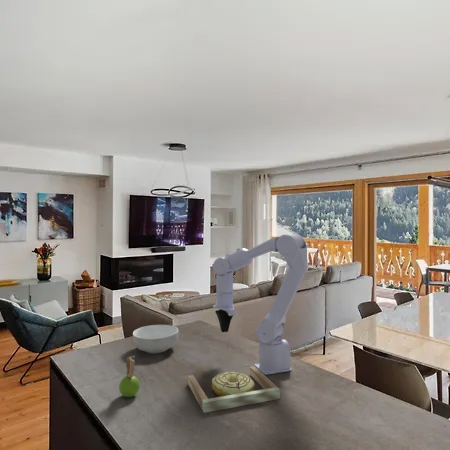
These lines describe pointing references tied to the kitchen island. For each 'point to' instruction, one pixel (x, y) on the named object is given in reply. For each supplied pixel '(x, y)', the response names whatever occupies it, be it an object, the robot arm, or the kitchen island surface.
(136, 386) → the snail figurine
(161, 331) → the cereal bowl
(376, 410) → the kitchen island surface
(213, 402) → the wooden bar frame
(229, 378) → the decorated donut
